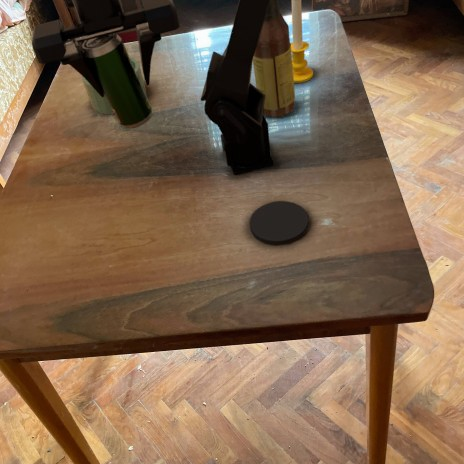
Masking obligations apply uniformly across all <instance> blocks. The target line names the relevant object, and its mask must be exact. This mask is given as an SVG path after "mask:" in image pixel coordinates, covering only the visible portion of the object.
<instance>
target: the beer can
mask: <svg viewBox="0 0 464 464" xmlns="http://www.w3.org/2000/svg"><path fill="white" fill-rule="evenodd" d="M82 44H83V45H82V47H83V49H84V54H85V57H86V59H87V61H88V63H89V65H90V66H91V68H92V70H93V72H94V74H95V76H96V78H97V80H98V82H99V84H100V86H101V88H102V90H103V92H104V94H105V96H106V98H107V100H108V102H109V104H110V106H111V108H112V110H113V112H114V114H113V115H114V116H115V118H116V120H117V122H118V123H119V125H120V126H122V128H125V129H127V130H128V129H129V130H132V129H137V128H139V127H141V126H143V125H145V124H147V122H149V121H150V120H151V118H152V116H153V107H152V105H151V103H150V100H149V98H148V96H146V93H145V91H144V89H143V87H142V84H141V82H140V80H139V78H138V75H137V73H136V71H135V68H134V66H133V64H132V62H131V59H130V55H129V53H128V50H127V48H126V46H125V44H124V41H123V39H122V37H120V35H118V32H117V33H113V34H109V35H105V36H102V37H98V38H94V39H90V40H86V41H83V42H82Z"/></svg>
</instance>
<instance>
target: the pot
mask: <svg viewBox="0 0 464 464" xmlns="http://www.w3.org/2000/svg"><path fill="white" fill-rule="evenodd" d="M129 57H130V56H129ZM130 59H131V62H132V64H133V66H134V68H135V71H136V73H137V75H138V78H139V80H140V82H141V84H142V87H143V89H144V91H145V93H146V96H147V95H148V93H147V88H146V83H145V80H144V76H143V72H142V71H141V67H140V63H139V61H138V60H137V59H135V57H130ZM81 78H82V79H81V80H82V83H83V85H84V88H85V91H86V95H87V96H88V100H89V102H90V104H91V105H90V106H92V109H93V110H94V111H95V112H97V113H100V114H102V115H115V114H114V112H113V110H112V108H111V106H110V104H109V102H108V100H107V98H106V96H105V94H104V97H101V96H100V95H99V94H98V92H97V91H96V90H95V89H94V88H93V87H92V86H91V85H90V83H89V82H88V81H87V80H86V79H85V78H84V77H83V76H82V75H81ZM147 97H148V96H147Z"/></svg>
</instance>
